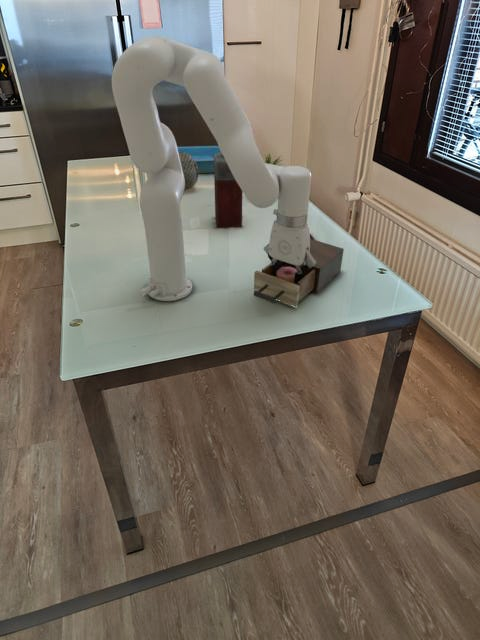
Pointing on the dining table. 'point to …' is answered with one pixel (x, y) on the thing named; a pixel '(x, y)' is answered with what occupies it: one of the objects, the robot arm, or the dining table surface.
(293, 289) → the drawer
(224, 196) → the toy vending machine
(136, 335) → the dining table surface
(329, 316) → the dining table surface
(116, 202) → the dining table surface
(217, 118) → the robot arm
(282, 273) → the donut
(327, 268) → the cabinet
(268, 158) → the house plant
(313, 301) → the dining table surface
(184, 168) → the decorative egg
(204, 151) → the casserole dish
